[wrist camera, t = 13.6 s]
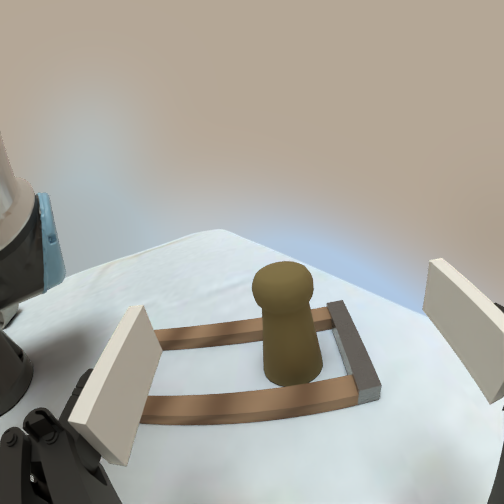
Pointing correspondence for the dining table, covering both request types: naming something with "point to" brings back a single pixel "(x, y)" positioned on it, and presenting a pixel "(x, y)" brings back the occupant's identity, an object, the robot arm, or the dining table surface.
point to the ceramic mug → (7, 315)
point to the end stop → (354, 353)
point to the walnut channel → (251, 402)
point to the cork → (287, 323)
